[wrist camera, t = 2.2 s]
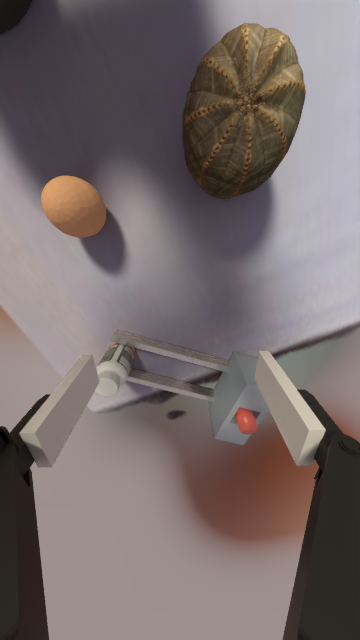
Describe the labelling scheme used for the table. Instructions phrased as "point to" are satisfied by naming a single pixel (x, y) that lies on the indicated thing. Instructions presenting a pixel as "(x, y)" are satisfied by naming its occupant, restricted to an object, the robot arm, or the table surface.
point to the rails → (171, 352)
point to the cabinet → (236, 399)
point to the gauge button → (246, 421)
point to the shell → (242, 110)
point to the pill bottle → (114, 369)
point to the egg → (73, 206)
